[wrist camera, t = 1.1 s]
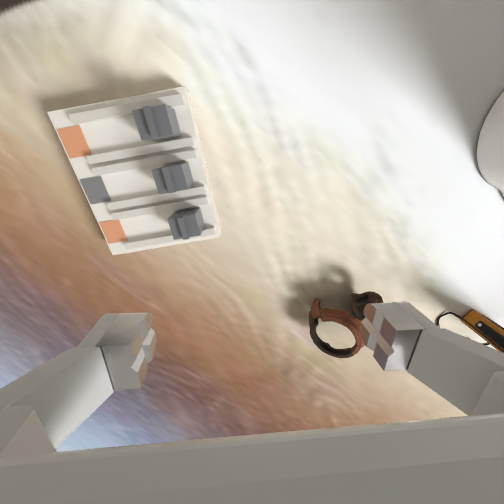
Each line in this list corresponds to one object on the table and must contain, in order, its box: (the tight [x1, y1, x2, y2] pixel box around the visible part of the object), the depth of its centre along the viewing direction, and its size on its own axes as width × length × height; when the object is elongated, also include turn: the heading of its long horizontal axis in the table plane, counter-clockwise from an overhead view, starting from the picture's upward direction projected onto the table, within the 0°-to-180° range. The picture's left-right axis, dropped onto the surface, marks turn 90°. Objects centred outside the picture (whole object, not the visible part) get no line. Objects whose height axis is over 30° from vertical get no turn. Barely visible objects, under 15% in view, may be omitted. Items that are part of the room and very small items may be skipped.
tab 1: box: [132, 104, 181, 141], centre depth 22 cm, size 3×2×4 cm
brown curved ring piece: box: [309, 292, 383, 358], centre depth 35 cm, size 12×10×8 cm
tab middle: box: [151, 162, 194, 194], centre depth 24 cm, size 3×2×4 cm
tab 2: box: [167, 207, 205, 240], centre depth 26 cm, size 3×2×4 cm
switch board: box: [47, 86, 222, 255], centre depth 27 cm, size 14×16×3 cm
